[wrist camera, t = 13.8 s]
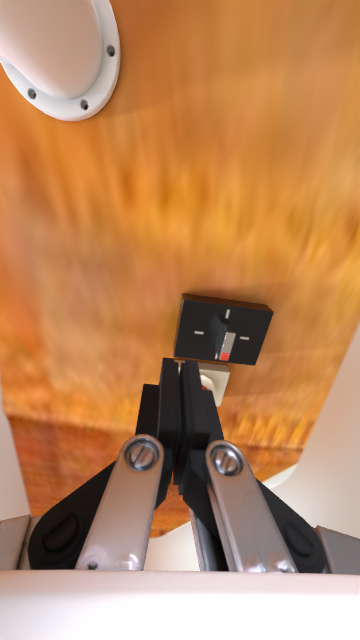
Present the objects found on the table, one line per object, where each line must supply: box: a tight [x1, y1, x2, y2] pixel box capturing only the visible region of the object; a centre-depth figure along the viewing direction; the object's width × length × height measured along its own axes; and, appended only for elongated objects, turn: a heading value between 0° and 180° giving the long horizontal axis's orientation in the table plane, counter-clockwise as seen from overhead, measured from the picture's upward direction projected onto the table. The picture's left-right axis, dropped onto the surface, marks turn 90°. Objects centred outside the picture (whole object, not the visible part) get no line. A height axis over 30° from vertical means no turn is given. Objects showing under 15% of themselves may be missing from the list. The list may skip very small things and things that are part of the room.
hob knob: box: [215, 322, 236, 361], centre depth 33 cm, size 5×1×4 cm, turn 171°
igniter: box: [174, 360, 230, 406], centre depth 40 cm, size 11×8×4 cm
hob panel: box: [173, 294, 274, 365], centre depth 36 cm, size 14×10×3 cm
